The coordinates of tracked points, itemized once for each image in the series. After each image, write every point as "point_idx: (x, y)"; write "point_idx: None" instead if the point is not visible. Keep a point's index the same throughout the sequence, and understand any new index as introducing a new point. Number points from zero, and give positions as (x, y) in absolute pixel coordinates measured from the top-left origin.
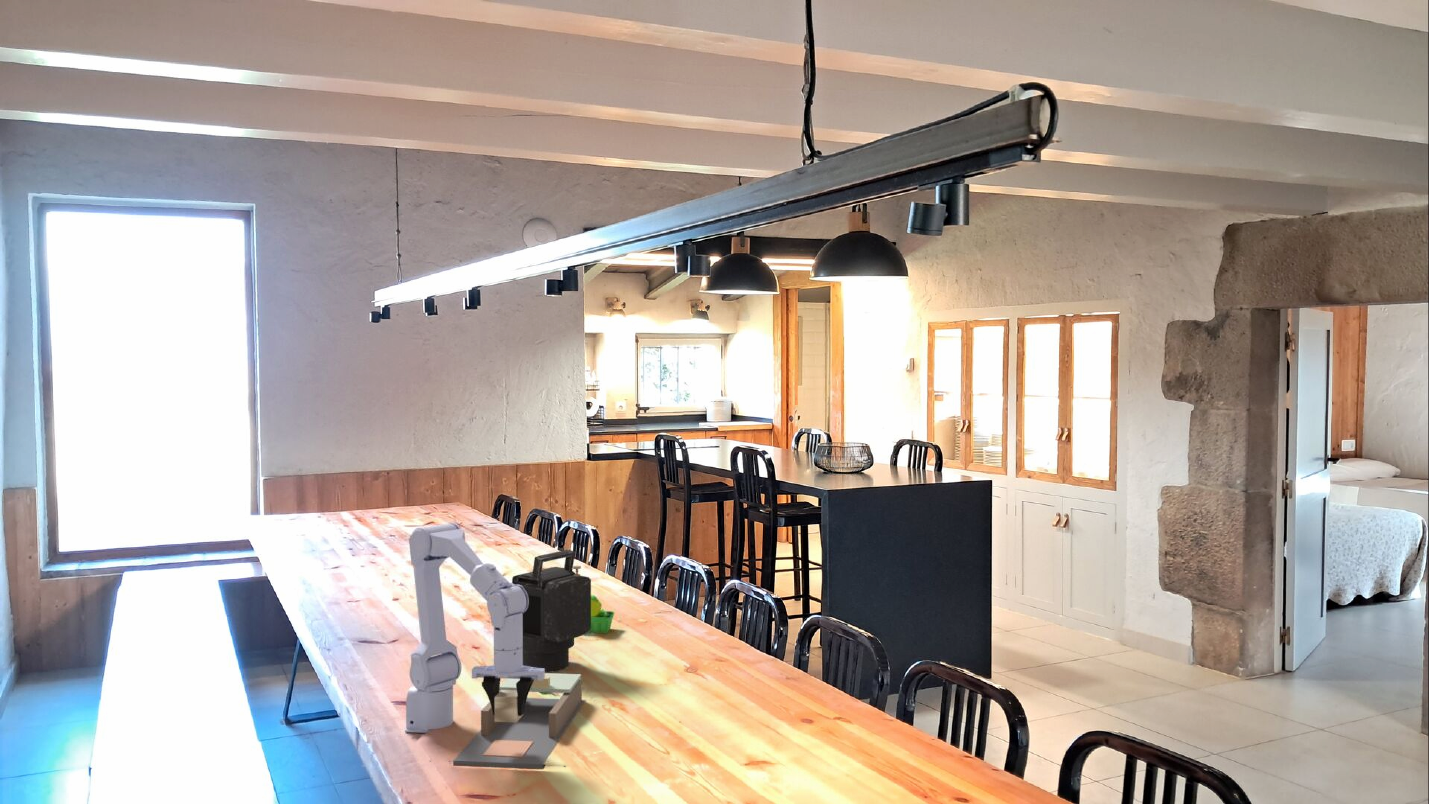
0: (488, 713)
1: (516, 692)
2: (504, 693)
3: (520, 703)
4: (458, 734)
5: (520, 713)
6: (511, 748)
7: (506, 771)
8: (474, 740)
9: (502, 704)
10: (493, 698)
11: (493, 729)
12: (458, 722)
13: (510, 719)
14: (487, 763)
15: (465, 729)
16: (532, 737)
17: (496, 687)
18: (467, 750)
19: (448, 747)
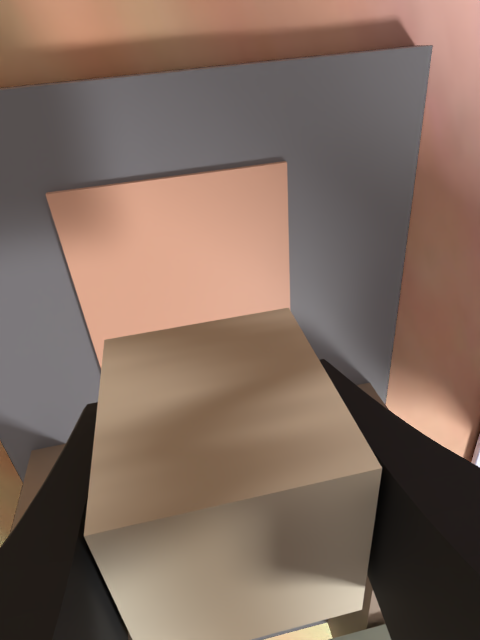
0: None
1: (184, 624)
2: (300, 569)
3: (56, 490)
4: (455, 385)
5: (83, 416)
6: (169, 282)
7: (67, 18)
8: (382, 326)
9: (257, 421)
10: (386, 455)
11: None
12: (470, 460)
13: (159, 345)
14: (220, 66)
15: (438, 425)
16: None
17: (422, 615)
18: (386, 212)
19: (474, 267)
